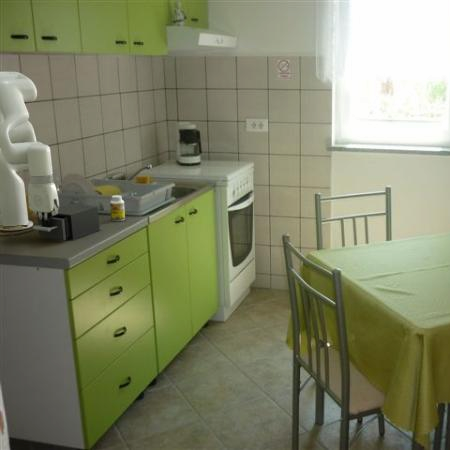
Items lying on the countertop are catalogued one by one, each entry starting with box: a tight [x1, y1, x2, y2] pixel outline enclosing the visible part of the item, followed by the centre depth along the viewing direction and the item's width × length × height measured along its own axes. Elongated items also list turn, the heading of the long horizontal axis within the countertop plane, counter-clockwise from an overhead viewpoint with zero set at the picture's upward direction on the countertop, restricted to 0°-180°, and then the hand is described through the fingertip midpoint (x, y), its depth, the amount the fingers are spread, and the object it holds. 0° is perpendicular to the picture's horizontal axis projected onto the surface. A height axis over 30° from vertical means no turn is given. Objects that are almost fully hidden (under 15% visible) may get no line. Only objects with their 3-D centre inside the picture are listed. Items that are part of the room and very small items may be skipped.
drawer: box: [32, 215, 71, 241], centre depth 217 cm, size 18×11×8 cm, turn 159°
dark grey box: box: [48, 203, 100, 241], centre depth 224 cm, size 15×13×10 cm
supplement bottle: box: [109, 194, 126, 222], centre depth 243 cm, size 6×6×10 cm
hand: (47, 229), depth 212 cm, fingers closed
